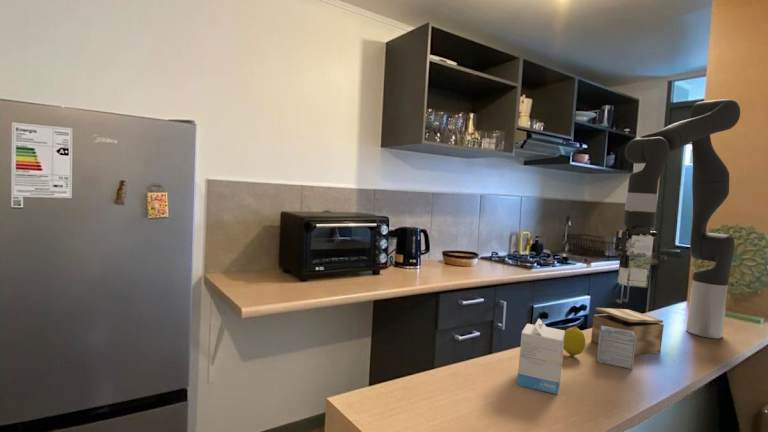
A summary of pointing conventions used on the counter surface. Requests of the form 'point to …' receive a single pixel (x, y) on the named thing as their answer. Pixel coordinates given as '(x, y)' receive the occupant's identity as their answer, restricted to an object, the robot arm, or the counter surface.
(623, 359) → the medicine box
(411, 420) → the counter surface
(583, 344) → the lemon
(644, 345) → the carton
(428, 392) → the counter surface
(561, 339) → the ink box
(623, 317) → the lid flap
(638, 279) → the syrup box
